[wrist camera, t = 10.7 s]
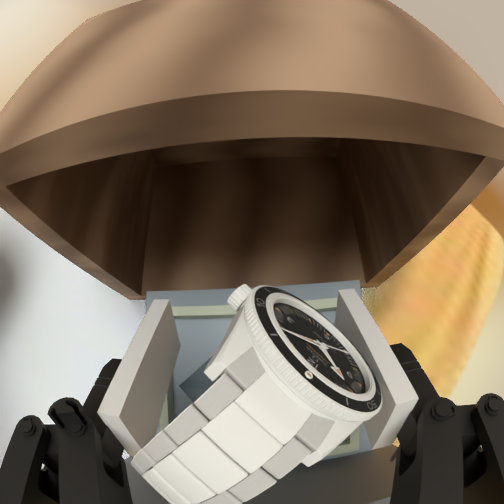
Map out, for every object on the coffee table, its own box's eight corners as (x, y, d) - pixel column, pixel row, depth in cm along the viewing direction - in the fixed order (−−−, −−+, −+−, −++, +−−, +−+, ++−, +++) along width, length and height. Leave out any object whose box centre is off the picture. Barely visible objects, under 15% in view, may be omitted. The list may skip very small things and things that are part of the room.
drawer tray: (137, 462, 15) (75, 498, 7) (134, 295, 20) (71, 251, 12) (386, 450, 14) (450, 483, 7) (373, 282, 20) (428, 230, 12)
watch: (339, 373, 15) (459, 367, 5) (239, 465, 13) (205, 585, 2) (270, 309, 16) (283, 205, 6) (172, 400, 14) (42, 427, 4)
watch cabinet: (129, 299, 21) (-36, 173, 5) (149, 164, 27) (87, 19, 11) (378, 286, 21) (526, 137, 5) (344, 152, 26) (385, -2, 11)
